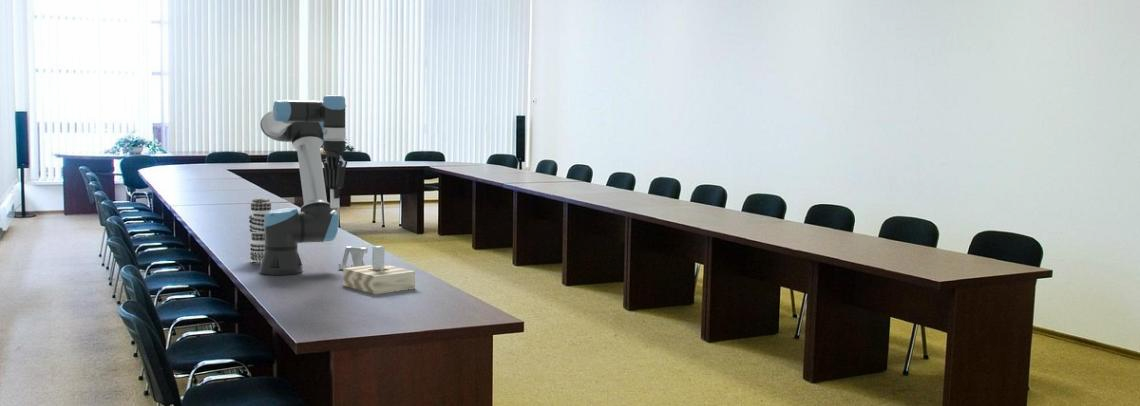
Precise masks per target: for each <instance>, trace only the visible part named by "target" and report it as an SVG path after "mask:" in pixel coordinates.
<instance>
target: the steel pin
mask: <svg viewBox="0 0 1140 406" xmlns="http://www.w3.org/2000/svg"><path fill="white" fill-rule="evenodd" d="M384 264H385V246H384V245H373V246H372V265H373V271H375V272H379V271H384Z"/></svg>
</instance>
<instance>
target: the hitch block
mask: <svg viewBox="0 0 1140 406" xmlns="http://www.w3.org/2000/svg"><path fill="white" fill-rule="evenodd" d="M349 267H350V268H343V270H342V285H343V286H344V287H348V288H350V289H355V290H358V291H361V292H366V293H369V294H372V295H379V294H380V295H381V294H386V293H387V294H388V293H395V292H401V290H402V291H408V289H409V290H414V288H415V289H416V271H415V270H411V269H407V268H402V267H399V266H393V265H390V264H386V263H384V271H379V272H375V271H373V264H370V265H369V264H368V265H364V266H358V267H351V266H349ZM394 291H395V292H394Z"/></svg>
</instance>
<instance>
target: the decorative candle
mask: <svg viewBox="0 0 1140 406" xmlns="http://www.w3.org/2000/svg"><path fill="white" fill-rule="evenodd" d="M249 203H250V215H249V216H248V219H249V221H248V223H250V225H249V228H250V229H249V233H251V238H250V244H249V246H250V251H251V252H250V253H249V254H250V257H249V258H250V259H251V260H250V263H252V262H262V259H263V256H264V253H265V226H264V220H265V215H266V213H268V212H270V211H273V209H272V201H271V200H270V199H269V198H267V197H256V198H253V199H252V200H251V201H250V202H249Z"/></svg>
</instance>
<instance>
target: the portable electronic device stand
mask: <svg viewBox="0 0 1140 406" xmlns="http://www.w3.org/2000/svg"><path fill="white" fill-rule="evenodd" d="M368 252H369V251H368V248H367V247H361V246H360V247H359V246H351V245H350V246H348V245H347V246H346V247H345V250H344V254H343V256H342V262H341V263H338V265H337V266H338V267H337V268H338V270H340V271H343V268H350V267H358V266H365V263H364V256H365V254H367V253H368ZM349 255H350V256H351V260H352V263H353V264H351V265H350V266H347V263H348V259H349Z"/></svg>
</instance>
